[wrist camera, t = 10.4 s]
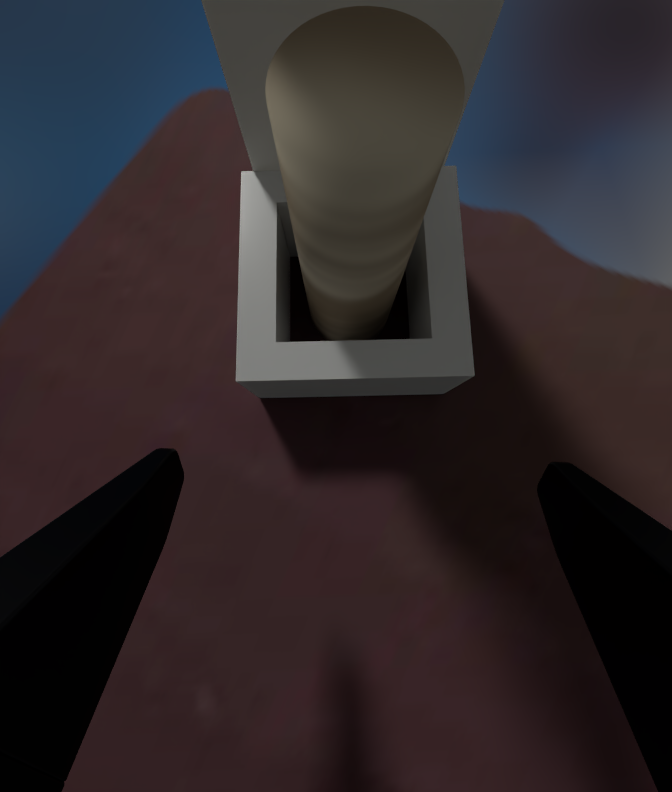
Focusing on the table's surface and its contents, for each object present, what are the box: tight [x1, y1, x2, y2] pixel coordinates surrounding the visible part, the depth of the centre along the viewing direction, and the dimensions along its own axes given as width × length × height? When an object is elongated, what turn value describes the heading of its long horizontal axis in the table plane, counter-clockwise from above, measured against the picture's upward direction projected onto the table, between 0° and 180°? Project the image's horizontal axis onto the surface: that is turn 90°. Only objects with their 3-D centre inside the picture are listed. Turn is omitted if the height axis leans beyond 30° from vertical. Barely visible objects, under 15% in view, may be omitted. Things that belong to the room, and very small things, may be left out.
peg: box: [265, 6, 465, 341], centre depth 12 cm, size 4×4×11 cm
